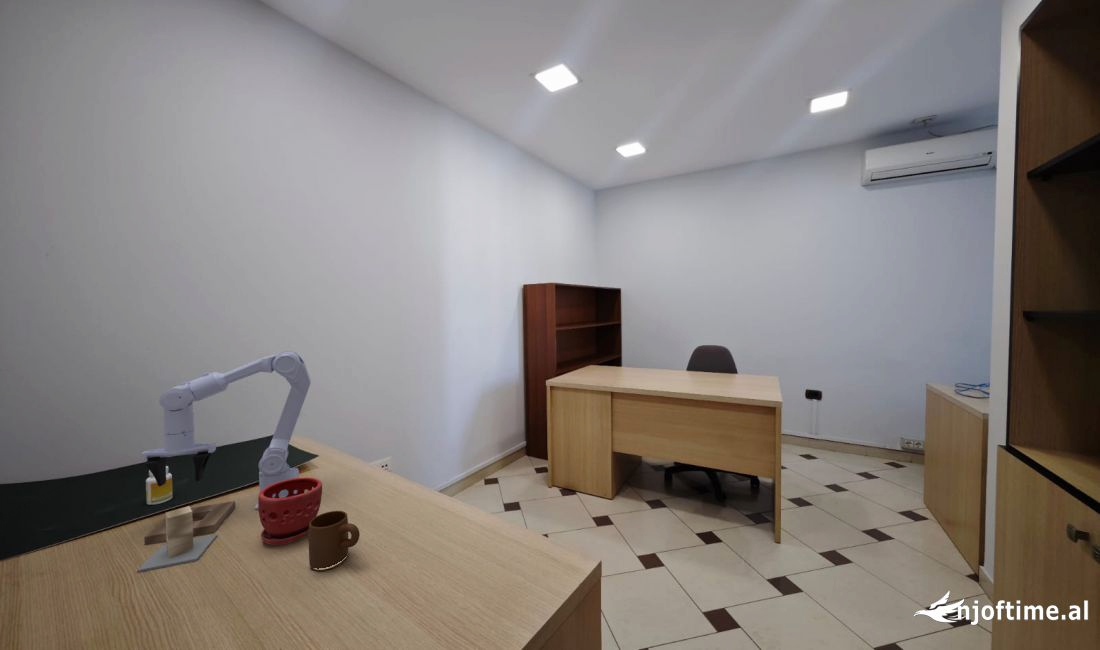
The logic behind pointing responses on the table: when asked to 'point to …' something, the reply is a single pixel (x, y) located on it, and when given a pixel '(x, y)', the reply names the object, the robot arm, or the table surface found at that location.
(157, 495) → the supplement bottle
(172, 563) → the pad
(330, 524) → the mug
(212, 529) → the brown square hole board
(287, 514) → the plant pot
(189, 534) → the maple plug
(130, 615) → the table surface
